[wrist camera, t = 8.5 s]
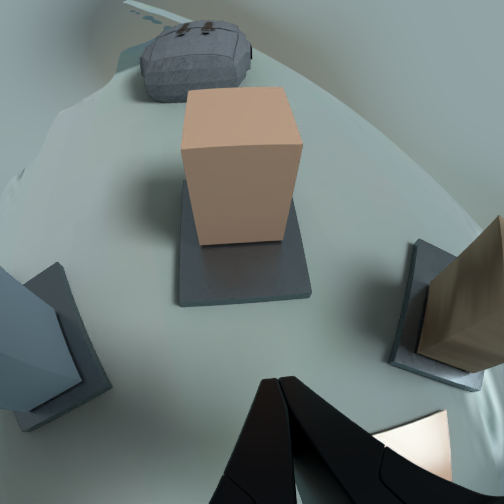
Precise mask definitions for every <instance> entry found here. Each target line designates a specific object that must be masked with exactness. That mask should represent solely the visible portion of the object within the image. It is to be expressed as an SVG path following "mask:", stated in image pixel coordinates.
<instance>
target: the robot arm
mask: <svg viewBox="0 0 504 504" xmlns="http://www.w3.org/2000/svg"><path fill="white" fill-rule="evenodd" d="M223 474H224V475H222V477H221V479H220V481H219V484H218V486H217V488H216V490H215V492H214V494H213V496H212V498H211V500H210V502H209V504H297V499H296V486H297V489H298V491H299V494H300V497H301V500H302V503H303V504H504V496H489V495H484V494H480V493H477V492H474V491H472V490H469V489H467V488H465V487H462V486H460V485H457V484H455V483H453V482H451V481H448V480H446V479H444V478H442V477H439V476H437V475H435V474H433V473H431V472H429V471H427V470H425V469H423V468H421V467H419V466H418V465H416V464H414V463H412V462H411V461H409V460H408V459H406V458H404V457H403V456H401V455H400V454H398V453H397V452H395V451H394V450H392V449H391V448H389V447H388V446H386V447H385V444H383V443H382V442H381V441H379V440H378V439H376V438H375V437H373V436H372V435H371V434H369V433H368V432H367V431H365V430H364V429H362V428H361V427H360V426H358V425H357V424H356V423H354V422H353V421H352V420H350V419H349V418H348V417H346V416H345V415H344V414H342V413H341V412H340V411H338V410H337V409H336V408H334V407H333V406H332V405H330V404H329V403H328V402H327V401H325V400H324V399H323V398H321V397H320V396H319V395H318V394H316V393H315V392H314V391H312V390H311V389H310V388H309V387H307V386H306V385H305V384H304V383H302V382H301V381H300V380H299V379H298V378H296V377H295V376H288V377H280V378H279V379H277V378H270V379H263V380H261V382H260V385H259V387H258V390H257V392H256V395H255V398H254V400H253V403H252V405H251V408H250V410H249V413H248V415H247V418H246V420H245V423H244V425H243V428H242V430H241V433H240V435H239V437H238V440H237V442H236V445H235V447H234V449H233V452H232V454H231V457H230V459H229V461H228V464H227V466H226V468H225V471H224V473H223ZM295 483H296V486H295Z"/></svg>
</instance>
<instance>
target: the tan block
mask: <svg viewBox="0 0 504 504" xmlns="http://www.w3.org/2000/svg"><path fill="white" fill-rule="evenodd" d="M302 148H303V142H302V139H301V137H300V134H299V131H298V128H297V125H296V122H295V119H294V116H293V113H292V111H291V108H290V105H289V102H288V100H287V97H286V94H285V92H284V89H283V87H237V88H216V89H201V90H190V91H188V97H187V104H186V111H185V119H184V127H183V136H182V144H181V153H182V158H183V164H184V169H185V175H186V180H187V185H188V190H189V196H190V201H191V206H192V211H193V216H194V220H195V225H196V230H197V235H198V239H199V244H200V245H213V244H229V243H245V242H261V241H277V240H283V237H284V232H285V228H286V223H287V219H288V214H289V209H290V205H291V200H292V196H293V191H294V186H295V181H296V177H297V172H298V167H299V162H300V157H301V152H302Z"/></svg>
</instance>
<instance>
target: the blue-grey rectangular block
mask: <svg viewBox="0 0 504 504" xmlns="http://www.w3.org/2000/svg"><path fill="white" fill-rule="evenodd" d="M81 381H82V380H81V378H80V376H79V374H78V371H77V369H76V367H75V364H74V362H73V360H72V357H71V355H70V352H69V350H68V347H67V344H66V342H65V339H64V337H63V334H62V331H61V328H60V325H59V323H58V320H57V317H56V314H55V311H54V308H52V307H51V306H50V305H48V304H47V303H45V302H44V301H43V300H41V299H40V298H39V297H37V296H36V295H35V294H33V293H32V292H31V291H30V290H28V289H27V288H26V287H25V286H23V285H22V284H21V283H20V282H18V281H17V280H16V279H15V278H13V277H12V276H11V275H10V274H9V273H7V272H6V271H5V270H4V269H3V268H2V267H0V408H1V409H7V410H13V411H19V412H28V411H30V410H31V409H33V408H35V407H37V406H39V405H40V404H42V403H44V402H46V401H48V400H49V399H51V398H53V397H55V396H57V395H58V394H60V393H62V392H64V391H65V390H67V389H69V388H71V387H72V386H74V385H76V384H78V383H79V382H81Z"/></svg>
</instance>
